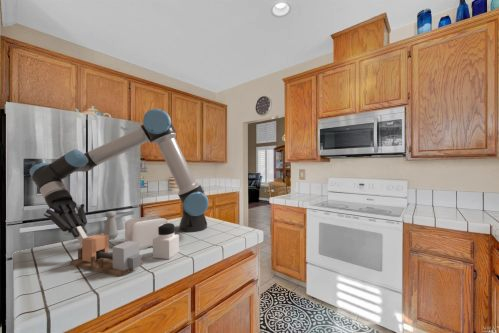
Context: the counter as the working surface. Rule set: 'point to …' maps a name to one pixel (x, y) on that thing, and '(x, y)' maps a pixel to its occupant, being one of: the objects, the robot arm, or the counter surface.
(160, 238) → the medicine bottle
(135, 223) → the cable organizer
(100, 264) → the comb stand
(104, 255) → the dark grey rod
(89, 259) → the sleeve
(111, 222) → the salt shaker
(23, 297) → the counter surface
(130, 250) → the block
